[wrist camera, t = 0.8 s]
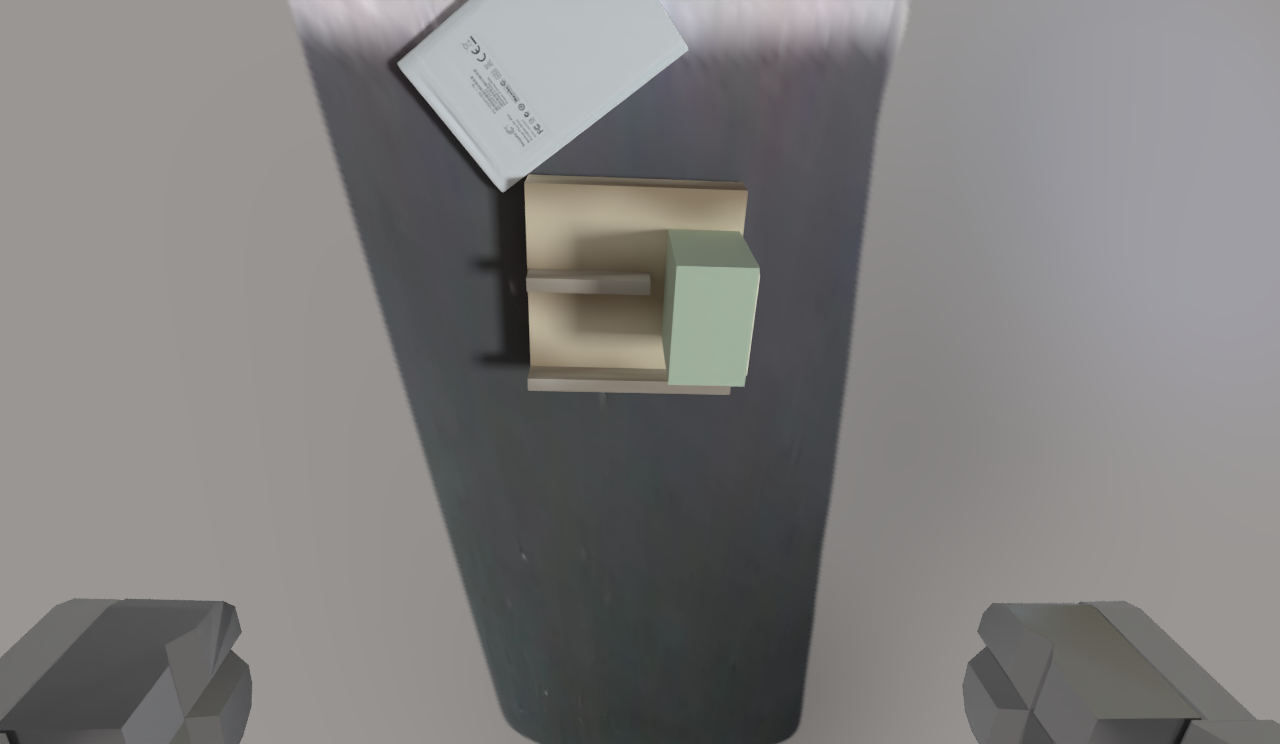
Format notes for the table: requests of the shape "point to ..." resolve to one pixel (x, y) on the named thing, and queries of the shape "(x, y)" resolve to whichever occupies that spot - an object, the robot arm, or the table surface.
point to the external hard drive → (536, 73)
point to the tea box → (708, 307)
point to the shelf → (610, 276)
